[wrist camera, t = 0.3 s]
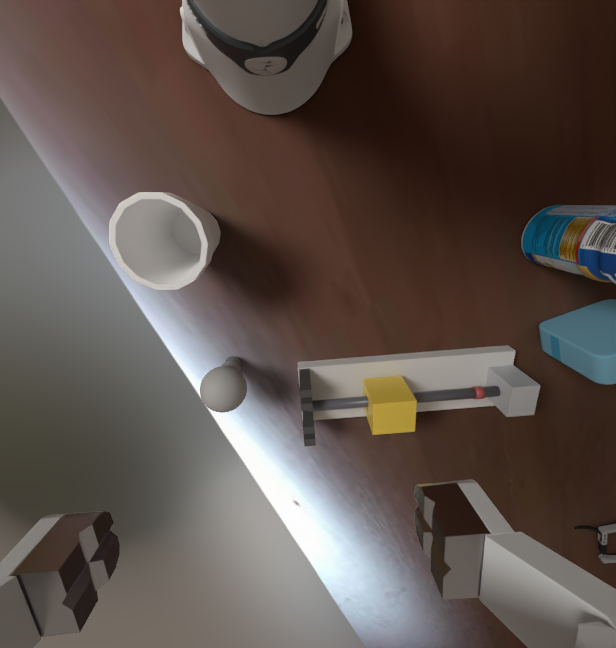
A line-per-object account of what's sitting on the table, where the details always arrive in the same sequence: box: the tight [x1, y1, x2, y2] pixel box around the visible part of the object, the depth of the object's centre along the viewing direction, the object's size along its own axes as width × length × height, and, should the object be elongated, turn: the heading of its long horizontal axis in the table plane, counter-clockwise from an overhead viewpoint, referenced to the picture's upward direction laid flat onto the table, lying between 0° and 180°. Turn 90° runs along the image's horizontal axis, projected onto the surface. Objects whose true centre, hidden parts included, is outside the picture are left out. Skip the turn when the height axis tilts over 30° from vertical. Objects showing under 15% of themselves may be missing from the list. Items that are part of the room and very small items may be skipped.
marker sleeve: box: [363, 376, 417, 435], centre depth 47 cm, size 5×6×7 cm
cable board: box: [298, 345, 541, 446], centre depth 49 cm, size 10×34×8 cm, turn 94°
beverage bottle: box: [521, 205, 616, 284], centre depth 36 cm, size 8×8×20 cm
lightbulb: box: [200, 357, 247, 412], centre depth 45 cm, size 6×6×11 cm
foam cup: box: [109, 192, 221, 290], centre depth 37 cm, size 10×9×13 cm
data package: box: [539, 299, 616, 385], centre depth 45 cm, size 12×4×12 cm, turn 112°
